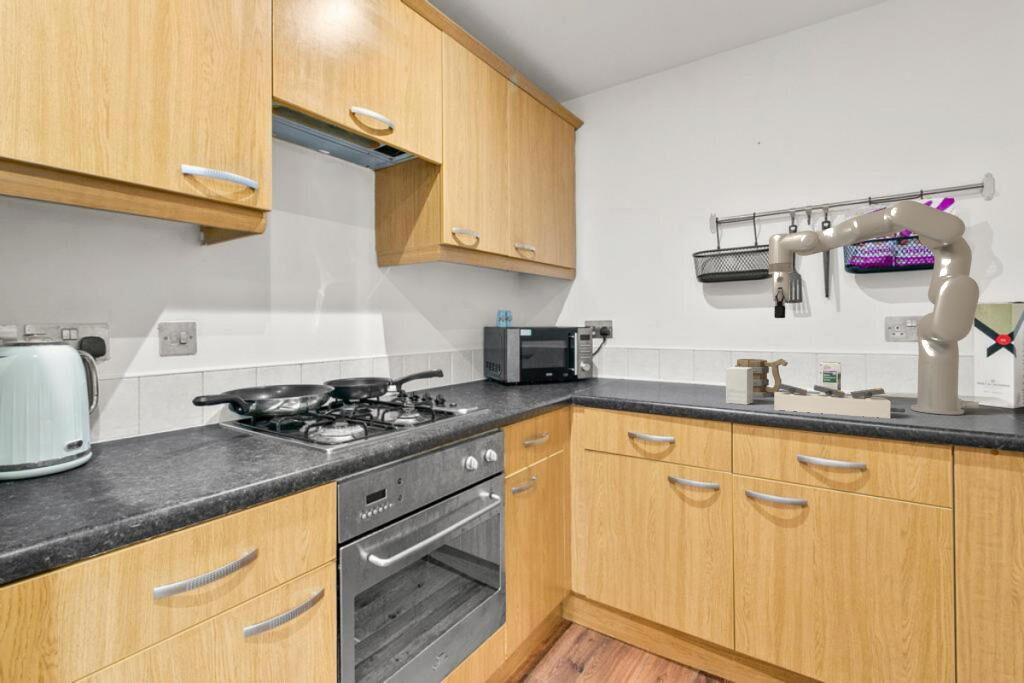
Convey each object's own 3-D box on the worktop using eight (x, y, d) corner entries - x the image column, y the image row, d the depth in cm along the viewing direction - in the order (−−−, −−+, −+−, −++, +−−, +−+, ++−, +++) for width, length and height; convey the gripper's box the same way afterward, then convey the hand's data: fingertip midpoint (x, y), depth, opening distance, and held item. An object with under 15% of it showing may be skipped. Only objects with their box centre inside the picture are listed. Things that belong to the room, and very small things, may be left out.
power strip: (901, 415, 146) (901, 397, 146) (907, 419, 139) (907, 401, 139) (774, 406, 163) (774, 390, 162) (774, 410, 156) (774, 393, 156)
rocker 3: (883, 394, 146) (881, 387, 147) (885, 395, 143) (883, 388, 143) (851, 398, 150) (850, 391, 150) (853, 400, 147) (851, 393, 147)
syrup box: (821, 404, 167) (821, 362, 167) (819, 401, 172) (819, 361, 172) (840, 405, 164) (841, 363, 164) (838, 402, 170) (839, 361, 169)
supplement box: (753, 402, 171) (754, 367, 170) (747, 405, 165) (747, 368, 165) (732, 400, 176) (732, 366, 175) (724, 403, 170) (725, 367, 170)
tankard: (726, 394, 192) (727, 356, 191) (746, 391, 198) (747, 355, 197) (775, 401, 174) (775, 359, 174) (795, 398, 181) (796, 358, 180)
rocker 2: (841, 397, 152) (843, 391, 151) (843, 399, 148) (845, 392, 148) (812, 390, 155) (814, 384, 155) (813, 392, 152) (815, 385, 152)
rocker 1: (804, 395, 156) (806, 389, 156) (805, 397, 153) (807, 390, 153) (777, 388, 160) (779, 382, 160) (777, 390, 157) (779, 383, 157)
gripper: (793, 266, 160) (792, 317, 160) (792, 271, 175) (792, 318, 175) (767, 267, 164) (766, 317, 164) (769, 272, 179) (768, 318, 179)
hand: (779, 318), depth 170 cm, fingers open, 9 cm apart
